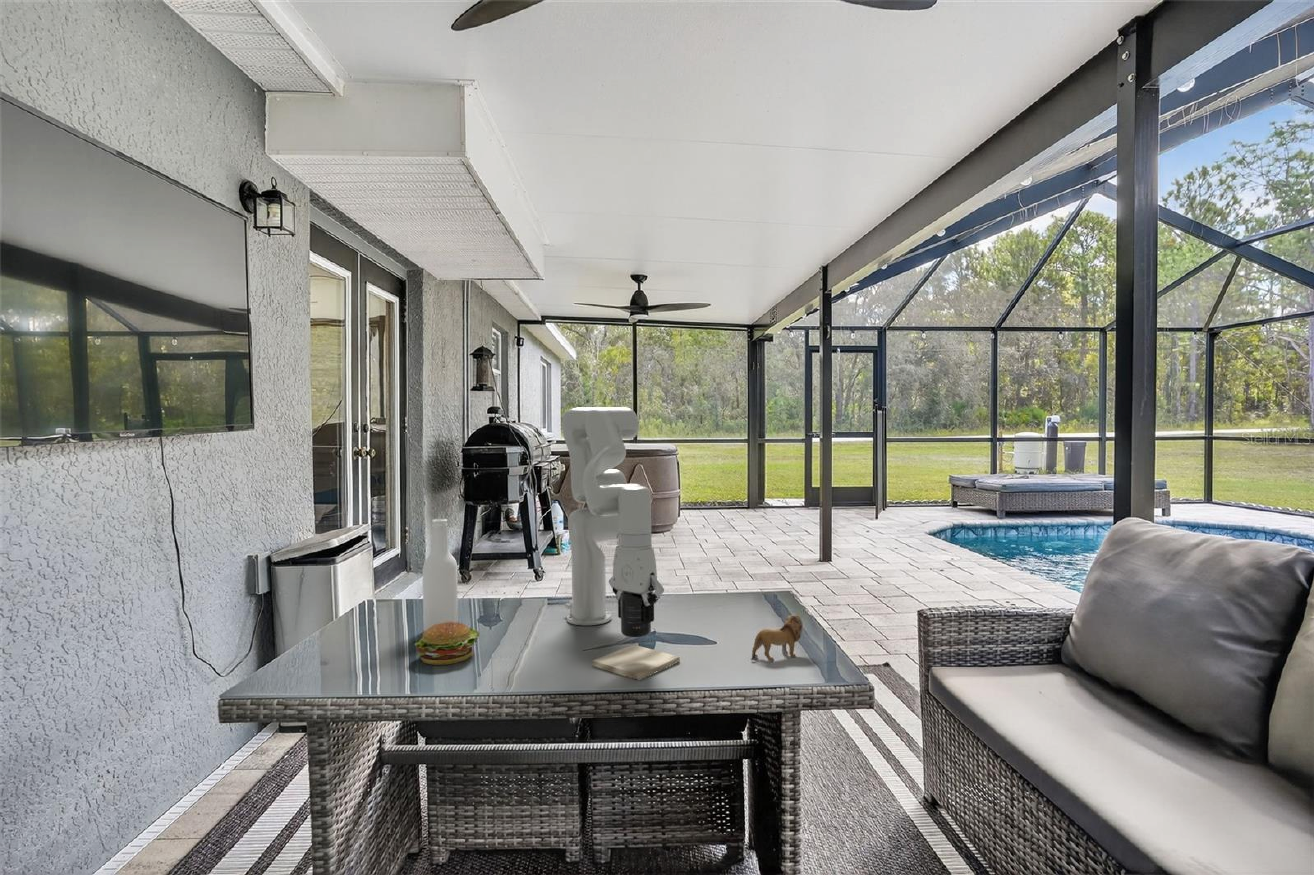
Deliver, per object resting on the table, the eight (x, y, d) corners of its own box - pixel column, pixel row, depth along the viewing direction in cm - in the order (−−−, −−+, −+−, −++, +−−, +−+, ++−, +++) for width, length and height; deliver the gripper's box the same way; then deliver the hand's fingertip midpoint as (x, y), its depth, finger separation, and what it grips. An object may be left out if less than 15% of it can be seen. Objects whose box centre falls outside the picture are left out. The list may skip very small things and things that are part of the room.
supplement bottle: (620, 629, 147) (619, 577, 147) (649, 628, 148) (649, 576, 148) (621, 638, 140) (620, 584, 141) (652, 637, 141) (651, 583, 141)
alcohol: (416, 634, 168) (414, 521, 168) (439, 624, 177) (437, 517, 177) (442, 637, 165) (441, 522, 165) (464, 628, 173) (463, 518, 173)
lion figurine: (793, 648, 154) (793, 611, 154) (808, 654, 149) (808, 616, 149) (744, 659, 147) (744, 620, 147) (758, 666, 142) (758, 626, 142)
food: (454, 671, 141) (454, 635, 141) (404, 664, 146) (404, 629, 146) (491, 651, 154) (491, 618, 154) (444, 645, 159) (443, 613, 159)
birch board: (592, 665, 143) (592, 660, 143) (634, 649, 154) (634, 644, 154) (639, 680, 134) (638, 675, 134) (679, 662, 145) (679, 657, 145)
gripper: (596, 539, 147) (597, 616, 147) (653, 546, 136) (654, 630, 136) (618, 535, 153) (619, 609, 153) (675, 542, 142) (676, 622, 142)
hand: (636, 618), depth 144 cm, fingers closed on supplement bottle, 6 cm apart
